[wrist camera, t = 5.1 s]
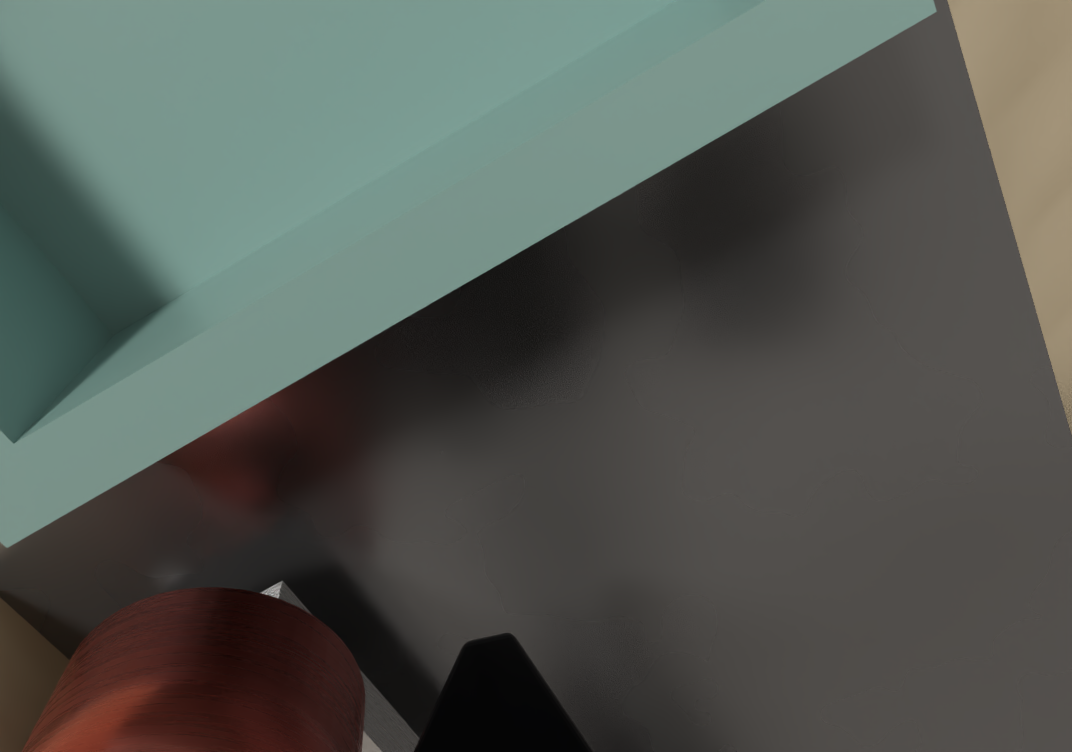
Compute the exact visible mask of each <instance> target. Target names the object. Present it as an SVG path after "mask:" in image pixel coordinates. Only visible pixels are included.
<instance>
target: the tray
mask: <svg viewBox="0 0 1072 752" xmlns="http://www.w3.org/2000/svg"><path fill="white" fill-rule="evenodd" d="M935 12H937V11H936V7H935V4H934V1H933V0H0V542H1V543H2V544H3V545H4V546H5V547H6V548H8V547H10V546H11V545H13V544H15V543H17V542H18V541H20V540H22V539H24V538H25V537H27V536H29V535H31V534H32V533H34V532H36V531H37V530H39V529H41V528H43V527H44V526H46V525H48V524H50V523H51V522H53V521H55V520H57V519H58V518H60V517H62V516H63V515H65V514H67V513H69V512H70V511H72V510H74V509H76V508H77V507H79V506H81V505H83V504H84V503H86V502H88V501H89V500H91V499H93V498H95V497H96V496H98V495H100V494H102V493H103V492H105V491H107V490H109V489H110V488H112V487H114V486H115V485H117V484H119V483H121V482H122V481H124V480H126V479H128V478H129V477H131V476H133V475H135V474H136V473H138V472H140V471H141V470H143V469H145V468H147V467H148V466H150V465H152V464H154V463H155V462H157V461H159V460H160V459H162V458H164V457H166V456H167V455H169V454H171V453H173V452H174V451H176V450H178V449H180V448H181V447H183V446H185V445H186V444H188V443H190V442H192V441H193V440H195V439H197V438H199V437H200V436H202V435H204V434H206V433H207V432H209V431H211V430H212V429H214V428H216V427H218V426H219V425H221V424H223V423H225V422H226V421H228V420H230V419H232V418H233V417H235V416H237V415H238V414H240V413H242V412H244V411H245V410H247V409H249V408H251V407H252V406H254V405H256V404H258V403H259V402H261V401H263V400H264V399H266V398H268V397H270V396H271V395H273V394H275V393H277V392H278V391H280V390H282V389H284V388H285V387H287V386H289V385H290V384H292V383H294V382H296V381H297V380H299V379H301V378H303V377H304V376H306V375H308V374H310V373H311V372H313V371H315V370H316V369H318V368H320V367H322V366H323V365H325V364H327V363H329V362H330V361H332V360H334V359H336V358H337V357H339V356H341V355H342V354H344V353H346V352H348V351H349V350H351V349H353V348H355V347H356V346H358V345H360V344H362V343H363V342H365V341H367V340H368V339H370V338H372V337H374V336H375V335H377V334H379V333H381V332H382V331H384V330H386V329H388V328H389V327H391V326H393V325H394V324H396V323H398V322H400V321H401V320H403V319H405V318H407V317H408V316H410V315H412V314H414V313H415V312H417V311H419V310H420V309H422V308H424V307H426V306H427V305H429V304H431V303H433V302H434V301H436V300H438V299H440V298H441V297H443V296H445V295H446V294H448V293H450V292H452V291H453V290H455V289H457V288H459V287H460V286H462V285H464V284H466V283H467V282H469V281H471V280H472V279H474V278H476V277H478V276H479V275H481V274H483V273H485V272H486V271H488V270H490V269H492V268H493V267H495V266H497V265H498V264H500V263H502V262H504V261H505V260H507V259H509V258H511V257H512V256H514V255H516V254H518V253H519V252H521V251H523V250H524V249H526V248H528V247H530V246H531V245H533V244H535V243H537V242H538V241H540V240H542V239H544V238H545V237H547V236H549V235H550V234H552V233H554V232H556V231H557V230H559V229H561V228H563V227H564V226H566V225H568V224H570V223H571V222H573V221H575V220H576V219H578V218H580V217H582V216H583V215H585V214H587V213H589V212H590V211H592V210H594V209H596V208H597V207H599V206H601V205H602V204H604V203H606V202H608V201H609V200H611V199H613V198H615V197H616V196H618V195H620V194H622V193H623V192H625V191H627V190H628V189H630V188H632V187H634V186H635V185H637V184H639V183H641V182H642V181H644V180H646V179H648V178H649V177H651V176H653V175H654V174H656V173H658V172H660V171H661V170H663V169H665V168H667V167H668V166H670V165H672V164H674V163H675V162H677V161H679V160H680V159H682V158H684V157H686V156H687V155H689V154H691V153H693V152H694V151H696V150H698V149H700V148H701V147H703V146H705V145H706V144H708V143H710V142H712V141H713V140H715V139H717V138H719V137H720V136H722V135H724V134H726V133H727V132H729V131H731V130H732V129H734V128H736V127H738V126H739V125H741V124H743V123H745V122H746V121H748V120H750V119H752V118H753V117H755V116H757V115H758V114H760V113H762V112H764V111H765V110H767V109H769V108H771V107H772V106H774V105H776V104H778V103H779V102H781V101H783V100H784V99H786V98H788V97H790V96H791V95H793V94H795V93H797V92H798V91H800V90H802V89H804V88H805V87H807V86H809V85H810V84H812V83H814V82H816V81H817V80H819V79H821V78H823V77H824V76H826V75H828V74H830V73H831V72H833V71H835V70H836V69H838V68H840V67H842V66H843V65H845V64H847V63H849V62H850V61H852V60H854V59H856V58H857V57H859V56H861V55H862V54H864V53H866V52H868V51H869V50H871V49H873V48H875V47H876V46H878V45H880V44H882V43H883V42H885V41H887V40H888V39H890V38H892V37H894V36H895V35H897V34H899V33H901V32H902V31H904V30H906V29H908V28H909V27H911V26H913V25H914V24H916V23H918V22H920V21H921V20H923V19H925V18H927V17H928V16H930V15H932V14H934V13H935Z"/></svg>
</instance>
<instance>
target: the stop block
mask: <svg viewBox="0 0 1072 752" xmlns="http://www.w3.org/2000/svg"><path fill="white" fill-rule="evenodd" d="M69 661H70V660H69V659H68V658H67V657H66V656H65V655H63V654H62V653H61V652H60V651H59V650H58V649H57V648H56V647H55V646H53V645H52V644H51V643H50V642H49V641H48V640H47V639H46V638H45V637H43V636H42V635H41V634H40V633H39V632H38V631H37V630H36V629H35V628H33V627H32V626H31V625H30V624H29V623H28V622H27V621H26V620H25V619H24V618H22V617H21V616H20V615H19V614H18V613H17V612H16V611H15V610H14V609H12V608H11V607H10V606H9V605H8V604H7V603H6V602H5V601H4V600H2V599H1V598H0V752H22V750H23V748H24V746H25V744H26V742H27V740H28V738H29V737H30V735H31V733H32V731H33V729H34V727H35V725H36V723H37V721H38V720H39V718H40V716H41V714H42V712H43V710H44V708H45V706H46V704H47V703H48V701H49V699H50V697H51V695H52V693H53V691H54V689H55V687H56V686H57V684H58V682H59V680H60V678H61V676H62V674H63V672H64V670H65V669H66V667H67V665H68V663H69Z"/></svg>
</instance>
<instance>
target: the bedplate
mask: <svg viewBox="0 0 1072 752" xmlns="http://www.w3.org/2000/svg"><path fill="white" fill-rule="evenodd" d="M933 1H934V4H935V7H936V11H937V12H935V13H934V14H932V15H930V16H928V17H927V18H925V19H923V20H921V21H920V22H918V23H916V24H914V25H913V26H911V27H909V28H908V29H906V30H904V31H902V32H901V33H899V34H897V35H895V36H894V37H892V38H890V39H888V40H887V41H885V42H883V43H882V44H880V45H878V46H876V47H875V48H873V49H871V50H869V51H868V52H866V53H864V54H862V55H861V56H859V57H857V58H856V59H854V60H852V61H850V62H849V63H847V64H845V65H843V66H842V67H840V68H838V69H836V70H835V71H833V72H831V73H830V74H828V75H826V76H824V77H823V78H821V79H819V80H817V81H816V82H814V83H812V84H810V85H809V86H807V87H805V88H804V89H802V90H800V91H798V92H797V93H795V94H793V95H791V96H790V97H788V98H786V99H784V100H783V101H781V102H779V103H778V104H776V105H774V106H772V107H771V108H769V109H767V110H765V111H764V112H762V113H760V114H758V115H757V116H755V117H753V118H752V119H750V120H748V121H746V122H745V123H743V124H741V125H739V126H738V127H736V128H734V129H732V130H731V131H729V132H727V133H726V134H724V135H722V136H720V137H719V138H717V139H715V140H713V141H712V142H710V143H708V144H706V145H705V146H703V147H701V148H700V149H698V150H696V151H694V152H693V153H691V154H689V155H687V156H686V157H684V158H682V159H680V160H679V161H677V162H675V163H674V164H672V165H670V166H668V167H667V168H665V169H663V170H661V171H660V172H658V173H656V174H654V175H653V176H651V177H649V178H648V179H646V180H644V181H642V182H641V183H639V184H637V185H635V186H634V187H632V188H630V189H628V190H627V191H625V192H623V193H622V194H620V195H618V196H616V197H615V198H613V199H611V200H609V201H608V202H606V203H604V204H602V205H601V206H599V207H597V208H596V209H594V210H592V211H590V212H589V213H587V214H585V215H583V216H582V217H580V218H578V219H576V220H575V221H573V222H571V223H570V224H568V225H566V226H564V227H563V228H561V229H559V230H557V231H556V232H554V233H552V234H550V235H549V236H547V237H545V238H544V239H542V240H540V241H538V242H537V243H535V244H533V245H531V246H530V247H528V248H526V249H524V250H523V251H521V252H519V253H518V254H516V255H514V256H512V257H511V258H509V259H507V260H505V261H504V262H502V263H500V264H498V265H497V266H495V267H493V268H492V269H490V270H488V271H486V272H485V273H483V274H481V275H479V276H478V277H476V278H474V279H472V280H471V281H469V282H467V283H466V284H464V285H462V286H460V287H459V288H457V289H455V290H453V291H452V292H450V293H448V294H446V295H445V296H443V297H441V298H440V299H438V300H436V301H434V302H433V303H431V304H429V305H427V306H426V307H424V308H422V309H420V310H419V311H417V312H415V313H414V314H412V315H410V316H408V317H407V318H405V319H403V320H401V321H400V322H398V323H396V324H394V325H393V326H391V327H389V328H388V329H386V330H384V331H382V332H381V333H379V334H377V335H375V336H374V337H372V338H370V339H368V340H367V341H365V342H363V343H362V344H360V345H358V346H356V347H355V348H353V349H351V350H349V351H348V352H346V353H344V354H342V355H341V356H339V357H337V358H336V359H334V360H332V361H330V362H329V363H327V364H325V365H323V366H322V367H320V368H318V369H316V370H315V371H313V372H311V373H310V374H308V375H306V376H304V377H303V378H301V379H299V380H297V381H296V382H294V383H292V384H290V385H289V386H287V387H285V388H284V389H282V390H280V391H278V392H277V393H275V394H273V395H271V396H270V397H268V398H266V399H264V400H263V401H261V402H259V403H258V404H256V405H254V406H252V407H251V408H249V409H247V410H245V411H244V412H242V413H240V414H238V415H237V416H235V417H233V418H232V419H230V420H228V421H226V422H225V423H223V424H221V425H219V426H218V427H216V428H214V429H212V430H211V431H209V432H207V433H206V434H204V435H202V436H200V437H199V438H197V439H195V440H193V441H192V442H190V443H188V444H186V445H185V446H183V447H181V448H180V449H178V450H176V451H174V452H173V453H171V454H169V455H167V456H166V457H164V458H162V459H160V460H159V461H157V462H155V463H154V464H152V465H150V466H148V467H147V468H145V469H143V470H141V471H140V472H138V473H136V474H135V475H133V476H131V477H129V478H128V479H126V480H124V481H122V482H121V483H119V484H117V485H115V486H114V487H112V488H110V489H109V490H107V491H105V492H103V493H102V494H100V495H98V496H96V497H95V498H93V499H91V500H89V501H88V502H86V503H84V504H83V505H81V506H79V507H77V508H76V509H74V510H72V511H70V512H69V513H67V514H65V515H63V516H62V517H60V518H58V519H57V520H55V521H53V522H51V523H50V524H48V525H46V526H44V527H43V528H41V529H39V530H37V531H36V532H34V533H32V534H31V535H29V536H27V537H25V538H24V539H22V540H20V541H18V542H17V543H15V544H13V545H11V546H10V547H8V548H6V547H5V546H4V545H3V544H2V543H1V542H0V598H1V599H2V600H4V601H5V602H6V603H7V604H8V605H9V606H10V607H11V608H12V609H14V610H15V611H16V612H17V613H18V614H19V615H20V616H21V617H22V618H24V619H25V620H26V621H27V622H28V623H29V624H30V625H31V626H32V627H33V628H35V629H36V630H37V631H38V632H39V633H40V634H41V635H42V636H43V637H45V638H46V639H47V640H48V641H49V642H50V643H51V644H52V645H53V646H55V647H56V648H57V649H58V650H59V651H60V652H61V653H62V654H63V655H65V656H66V657H67V658H68V659H69V660H70V659H71V657H72V656H73V654H74V652H75V651H76V649H77V648H78V646H79V645H80V643H81V642H82V641H83V640H84V639H85V637H86V636H87V635H88V634H89V633H90V632H91V631H92V630H93V629H94V628H95V627H96V626H98V625H99V624H100V623H101V622H102V621H103V620H105V619H106V618H108V617H109V616H111V615H112V614H114V613H116V612H117V611H119V610H120V609H122V608H124V607H126V606H128V605H131V604H133V603H135V602H137V601H139V600H142V599H145V598H148V597H151V596H154V595H157V594H161V593H165V592H170V591H175V590H180V589H189V588H199V587H223V588H233V589H243V590H248V591H253V592H258V593H260V592H262V591H264V590H266V589H268V588H269V587H271V586H273V585H275V584H277V583H279V582H281V581H282V580H283V582H284V583H285V584H286V585H287V586H288V587H289V589H290V590H291V591H292V592H293V593H294V594H295V595H296V597H297V598H298V599H299V600H300V601H301V602H302V603H303V605H304V606H305V607H306V608H307V609H308V610H309V611H310V613H311V614H312V615H313V616H315V617H316V618H318V619H319V620H320V621H322V622H323V623H324V624H325V625H327V626H328V627H329V628H330V629H331V630H332V631H333V632H334V633H335V634H336V635H337V636H338V637H339V638H340V639H341V640H342V641H343V642H344V644H345V645H346V646H347V648H348V649H349V650H350V652H351V653H352V655H353V657H354V659H355V661H356V662H357V664H358V666H359V669H360V670H361V671H362V672H363V673H364V675H365V676H366V677H367V678H368V679H369V680H370V682H371V683H372V684H373V685H374V686H375V687H376V688H377V690H378V691H379V692H380V693H381V694H382V695H383V696H384V698H385V699H386V700H387V701H388V702H389V703H390V704H391V706H392V707H393V708H394V709H395V710H396V711H397V713H398V714H399V715H400V716H401V717H402V718H403V719H404V721H405V722H406V723H407V724H408V725H409V726H410V727H411V729H412V730H413V731H414V732H415V733H416V734H417V735H418V737H419V738H420V737H421V734H422V732H423V730H424V728H425V726H426V724H427V721H428V719H429V717H430V715H431V713H432V711H433V708H434V706H435V704H436V702H437V700H438V698H439V695H440V693H441V691H442V689H443V687H444V685H445V683H446V680H447V678H448V676H449V674H450V672H451V670H452V667H453V665H454V663H455V661H456V659H457V657H458V654H459V652H460V650H461V648H462V646H463V645H464V644H465V643H466V642H468V641H470V640H474V639H479V638H484V637H488V636H493V635H498V634H503V633H511V634H513V635H514V636H515V637H516V638H517V640H518V641H519V643H520V644H521V646H522V647H523V649H524V650H525V651H526V653H527V654H528V656H529V657H530V659H531V660H532V662H533V663H534V665H535V666H536V668H537V669H538V670H539V672H540V673H541V675H542V676H543V678H544V679H545V681H546V682H547V684H548V685H549V687H550V688H551V689H552V691H553V692H554V694H555V695H556V697H557V698H558V700H559V701H560V703H561V704H562V705H563V707H564V708H565V710H566V711H567V713H568V714H569V716H570V717H571V719H572V720H573V722H574V723H575V724H576V726H577V727H578V729H579V730H580V732H581V733H582V735H583V736H584V738H585V739H586V741H587V742H588V743H589V745H590V746H591V748H592V749H593V751H594V752H1072V436H1071V432H1070V429H1069V425H1068V422H1067V418H1066V415H1065V411H1064V408H1063V404H1062V401H1061V397H1060V394H1059V390H1058V387H1057V383H1056V380H1055V376H1054V373H1053V369H1052V366H1051V362H1050V359H1049V355H1048V352H1047V348H1046V345H1045V341H1044V338H1043V334H1042V331H1041V327H1040V324H1039V320H1038V317H1037V313H1036V310H1035V306H1034V303H1033V299H1032V296H1031V292H1030V289H1029V285H1028V282H1027V278H1026V275H1025V271H1024V268H1023V264H1022V261H1021V257H1020V254H1019V250H1018V247H1017V243H1016V240H1015V236H1014V233H1013V229H1012V226H1011V222H1010V219H1009V215H1008V212H1007V208H1006V205H1005V201H1004V198H1003V194H1002V191H1001V187H1000V184H999V180H998V177H997V173H996V170H995V166H994V163H993V159H992V156H991V152H990V149H989V145H988V142H987V138H986V135H985V131H984V128H983V124H982V121H981V117H980V114H979V110H978V107H977V103H976V100H975V96H974V93H973V89H972V86H971V82H970V79H969V75H968V72H967V68H966V65H965V61H964V58H963V54H962V51H961V47H960V44H959V40H958V37H957V33H956V30H955V26H954V23H953V19H952V16H951V12H950V9H949V5H948V2H947V0H933Z"/></svg>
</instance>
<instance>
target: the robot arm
mask: <svg viewBox="0 0 1072 752" xmlns="http://www.w3.org/2000/svg"><path fill="white" fill-rule="evenodd" d="M414 752H594V751H593V749H592V748H591V746H590V745H589V743H588V742H587V741H586V739H585V738H584V736H583V735H582V733H581V732H580V730H579V729H578V727H577V726H576V724H575V723H574V722H573V720H572V719H571V717H570V716H569V714H568V713H567V711H566V710H565V708H564V707H563V705H562V704H561V703H560V701H559V700H558V698H557V697H556V695H555V694H554V692H553V691H552V689H551V688H550V687H549V685H548V684H547V682H546V681H545V679H544V678H543V676H542V675H541V673H540V672H539V670H538V669H537V668H536V666H535V665H534V663H533V662H532V660H531V659H530V657H529V656H528V654H527V653H526V651H525V650H524V649H523V647H522V646H521V644H520V643H519V641H518V640H517V638H516V637H515V636H514V635H513V634H511V633H503V634H498V635H493V636H488V637H484V638H479V639H474V640H470V641H468V642H466V643H465V644H464V645H463V646H462V648H461V650H460V652H459V654H458V657H457V659H456V661H455V663H454V665H453V667H452V670H451V672H450V674H449V676H448V678H447V680H446V683H445V685H444V687H443V689H442V691H441V693H440V695H439V698H438V700H437V702H436V704H435V706H434V708H433V711H432V713H431V715H430V717H429V719H428V721H427V724H426V726H425V728H424V730H423V732H422V734H421V737H420V739H419V741H418V743H417V745H416V747H415V750H414Z"/></svg>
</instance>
